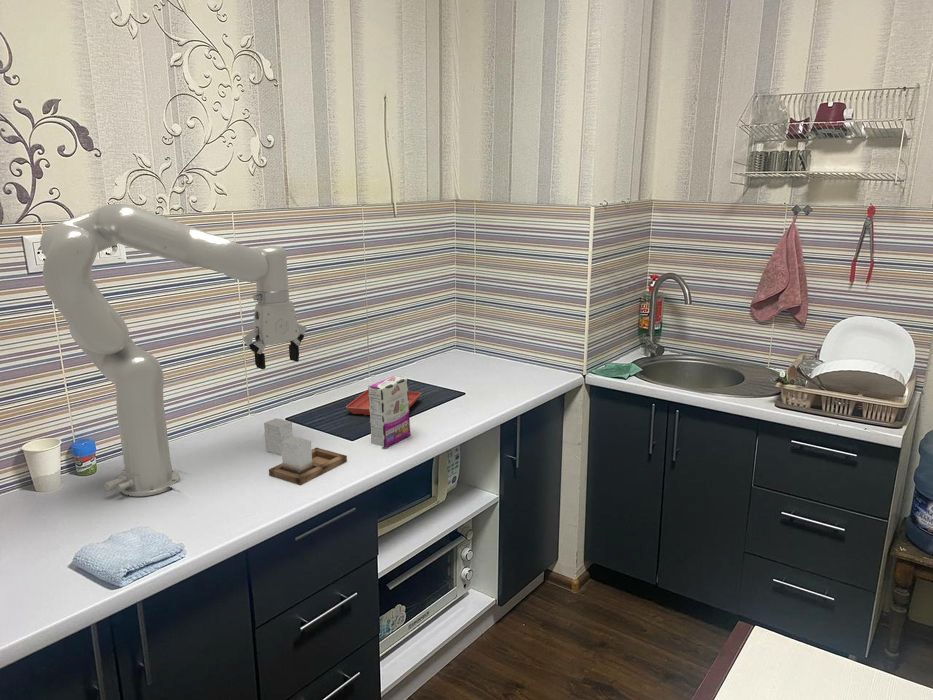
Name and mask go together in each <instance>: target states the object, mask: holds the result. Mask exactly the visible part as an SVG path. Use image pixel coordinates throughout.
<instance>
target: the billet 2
mask: <svg viewBox="0 0 933 700" xmlns="http://www.w3.org/2000/svg"><path fill="white" fill-rule="evenodd" d="M281 449H282V456H281V459H282V463H283V470H285V471H288V472H291V473H295V474H298V475H301V474H303V473H305V472H307V471H309V470H311V469H313V465H312V441H311V440H309V439H305V438H302V437H298V436H293V437H291V438H289V439H286V440H284V441H282V442H281Z"/></svg>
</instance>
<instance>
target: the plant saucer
mask: <svg viewBox="0 0 933 700" xmlns="http://www.w3.org/2000/svg"><path fill="white" fill-rule="evenodd" d="M421 395H422V392H419V391H408V397H409V409H410V408H411V407H412V406H413V405H414V404H415V403H416V402H417V401H418V399H419V398H420V396H421ZM345 409H347V411H349V412H350V413H351V414H353V415H354V414H364V415H363V416H367V415H370V410H369V393H368V389H366V390H365V391H364V392H362V393H361V394H360V395H358V396H357V397H356V398H355V399H354V400H352V401H351V402H350V403H348V404H347V405H346V406H345Z"/></svg>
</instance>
